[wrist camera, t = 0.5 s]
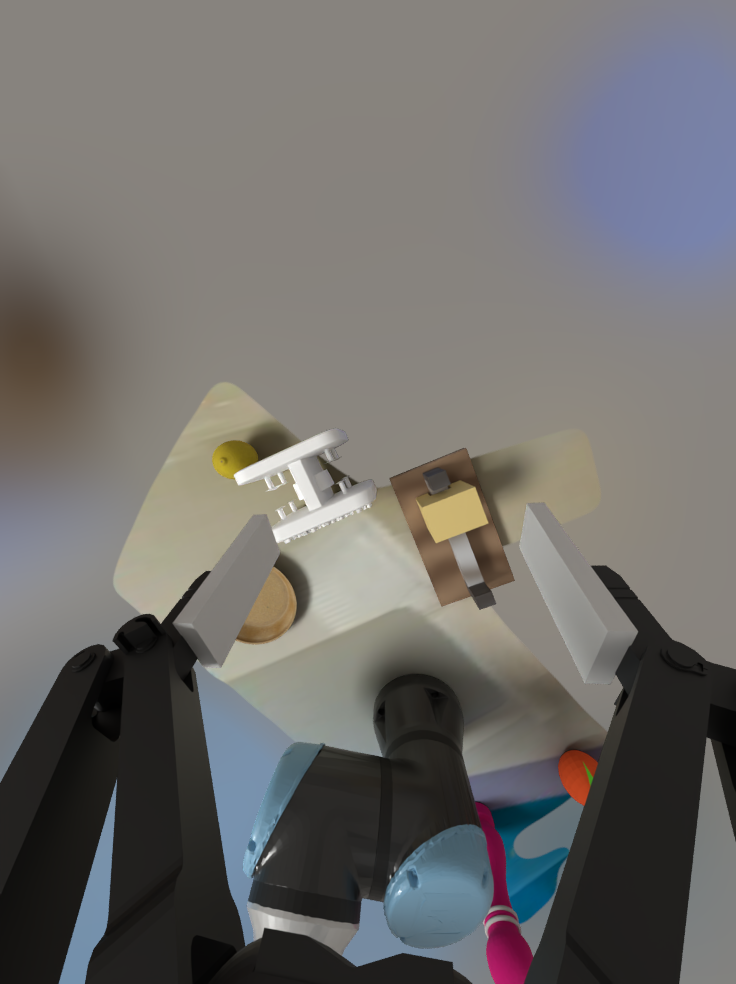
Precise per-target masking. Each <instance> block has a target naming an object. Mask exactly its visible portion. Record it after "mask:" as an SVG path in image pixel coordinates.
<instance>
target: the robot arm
mask: <svg viewBox="0 0 736 984" xmlns="http://www.w3.org/2000/svg"><path fill="white" fill-rule="evenodd" d="M519 548H520V550H521V553H522V554H523V556H524V558H525V561H526V563H527V565H528V567H529V569H530V571H531V573H532V575H533V577H534V579H535V582H536V584H537V586H538V588H539V590H540V592H541V594H542V596H543V598H544V600H545V602H546V604H547V607H548V608H549V610H550V613H551V615H552V617H553V619H554V621H555V623H556V625H557V627H558V629H559V631H560V633H561V635H562V637H563V640H564V642H565V644H566V646H567V648H568V650H569V652H570V654H571V656H572V658H573V661H574V663H575V665H576V667H577V669H578V671H579V673H580V675H581V677H582V679H583V681H584V683H585V684H608V685H610V684H611V682H612V680H613V679H614V677H615V675H617V677H618V679H619V681H620V682H621V684H622V686H623V689H622V691H621V693H620V694H619V696H618V698H617V700H616V702H615V703H614V705H616V709H615V712H614V715H613V718H612V721H611V724H610V727H609V730H608V734H607V737H606V740H605V743H604V746H603V749H602V752H601V755H600V759H599V762H598V765H597V768H596V771H595V774H594V777H593V780H592V783H591V787H590V790H589V793H588V796H587V799H586V802H585V805H584V809H583V812H582V815H581V818H580V821H579V824H578V827H577V830H576V833H575V836H574V839H573V843H572V846H571V849H570V852H569V855H568V858H567V861H566V865H565V868H564V871H563V874H562V877H561V880H560V883H559V886H558V889H557V892H556V896H555V899H554V902H553V905H552V908H551V911H550V914H549V917H548V920H547V924H546V927H545V930H544V933H543V936H542V939H541V942H540V944H539V947H538V949H537V951H536V953H535V955H534V957H533V960H532V962H531V965H530V967H529V970H528V973H527V976H526V979H525V981H524V984H679V980H680V971H681V962H682V953H683V943H684V935H685V926H686V916H687V908H688V899H689V890H690V881H691V872H692V863H693V853H694V845H695V836H696V827H697V818H698V809H699V800H700V791H701V782H702V773H703V764H704V755H705V746H706V737H707V738H710V739H711V742H712V746H713V750H714V754H715V758H716V763H717V767H718V770H719V775H720V779H721V783H722V787H723V791H724V795H725V799H726V804H727V808H728V811H729V816H730V820H731V824H732V828H733V832H734V836H735V840H736V669H732V668H729V667H725V666H721V665H718V664H714V663H711V662H708V661H706V660H705V659H704V658H703V657H702V656H701V655H699V654H698V653H697V652H696V651H695V650H693V649H691V648H689V647H688V646H686V645H684V644H682V643H680V642H677V641H674V640H672V639H671V638H670V637H669V635H668V634H667V633H666V632H665V630H664V629H663V628H662V627H661V626H660V624H659V623H658V622H657V621H656V619H655V618H654V617H653V616H652V614H651V613H650V612H649V611H648V610H647V608H646V607H645V606H644V605H643V603H642V602H641V601H640V600H638V597H637V596H636V595H635V593H634V592H633V591H632V590H630V587H629V586H628V585H627V584H626V583H625V581H624V580H623V579H622V577H621V576H620V575H618V574H617V573H616V572H614V571H613V570H611V569H610V568H608V567H607V566H590V565H589V563H588V562H587V561H586V559H585V558H584V556H583V555H582V554H581V552H580V551H579V549H578V548H577V547H576V545H575V544H574V543H573V541H572V540H571V539H570V537H569V536H568V534H567V533H566V532H565V530H564V529H563V527H562V526H561V525H560V523H559V522H558V521H557V519H556V518H555V516H554V515H553V514H552V512H551V511H550V510H549V508H548V507H547V505H546V504H545V503H527V506H526V511H525V517H524V523H523V529H522V535H521V541H520V546H519ZM279 555H280V551H279V548H278V545H277V542H276V539H275V536H274V534H273V531H272V528H271V525H270V522H269V520H268V517H267V514H262V515H253V516H252V517H251V519H250V520H249V521H248V523H247V524H246V525H245V527H244V528H243V529H242V531H241V532H240V533H239V535H238V536H237V538H236V539H235V540H234V542H233V543H232V544H231V546H230V547H229V548H228V550H227V551H226V552H225V554H224V555H223V556H222V558H221V559H220V560H219V562H218V563H217V564H216V566H215V567H214V568H213V570H212V571H206V572H204V573H203V574H202V575H201V576H199V577H198V578H197V579H196V580H195V581H194V582H193V583H192V585H191V586H190V587H189V589H188V591H186V592H185V594H184V595H183V596H182V599H180V600H179V601H178V603H177V604H176V605H175V606H174V608H173V609H172V610H171V612H170V613H169V614H168V615H167V617H166V618H165V619H164V621H163V622H162V623H161V624H160V623H159V621H158V620H157V619H156V617H155V616H154V615H152V614H143V615H140V616H138V617H135V618H133V619H132V620H130V621H128V622H127V623H126V624H124V625H123V626H122V627H121V628H120V629H119V630H118V631H117V633H116V634H115V636H114V638H113V642H114V643H115V644H116V645H117V646H118V647H119V648H120V649H117V650H114V651H108V649H106V647H105V646H104V645H100V644H97V645H93V646H90V647H88V648H86V649H83V650H82V651H80V652H79V653H77V654H76V655H74V657H72V658H71V659H70V660H69V661H68V662H67V663H66V664H65V666H64V667H63V669H62V670H61V672H60V674H59V675H58V677H57V679H56V681H55V683H54V685H53V687H52V688H51V690H50V692H49V694H48V696H47V698H46V700H45V701H44V703H43V705H42V707H41V709H40V711H39V713H38V714H37V716H36V718H35V720H34V722H33V724H32V725H31V727H30V729H29V731H28V733H27V735H26V736H25V739H24V740H23V742H22V744H21V746H20V748H19V749H18V751H17V753H16V755H15V757H14V759H13V760H12V762H11V764H10V766H9V768H8V770H7V772H6V773H5V775H4V777H3V779H2V781H1V783H0V984H59V980H60V976H61V973H62V969H63V966H64V962H65V959H66V955H67V952H68V948H69V945H70V941H71V938H72V934H73V931H74V927H75V924H76V920H77V917H78V913H79V909H80V906H81V903H82V899H83V896H84V892H85V889H86V885H87V881H88V878H89V875H90V871H91V868H92V864H93V860H94V857H95V853H96V850H97V846H98V843H99V839H100V836H101V832H102V829H103V825H104V822H105V818H106V815H107V811H108V808H109V804H110V801H111V797H112V794H113V790H114V787H115V783H116V780H117V792H116V806H115V822H114V837H113V853H112V869H111V884H110V899H109V915H108V923H107V928H106V931H105V934H104V936H103V937H102V938H101V940H100V941H99V943H98V944H97V945H96V947H95V948H94V950H93V952H92V955H91V958H90V961H89V964H88V969H87V975H86V980H85V984H472V983H471V982H470V981H469V980H468V979H467V978H466V977H464V976H463V975H461V974H460V973H459V972H457V971H456V970H454V969H453V962H449V961H443V960H438V959H432V958H426V957H422V956H416V955H411V954H405V953H402V954H398V955H395V956H392V957H388V958H385V959H382V960H379V961H375V962H372V963H368V964H365V965H362V966H358V967H356V966H355V965H353V964H352V963H351V962H349V961H348V960H347V959H345V958H344V957H342V954H343V952H344V949H345V948H346V946H347V945H348V944H349V942H350V941H351V939H352V938H353V937H354V935H355V934H356V932H357V931H358V930H359V921H360V911H361V901H362V898H365V899H370V900H375V901H380V902H384V914H385V916H386V920H387V924H388V927H389V929H390V930H391V932H392V934H393V935H394V936H395V937H396V938H398V937H400V940H401V941H402V942H403V943H404V944H406V945H409V946H412V947H416V948H427V949H428V948H439V947H444V946H447V945H451V944H453V943H456V942H458V941H460V940H462V939H463V938H465V937H466V936H468V935H469V934H471V933H472V932H473V931H474V930H476V929H477V928H478V927H479V926H480V924H481V923H482V922H483V920H484V919H485V918H486V916H487V914H488V912H489V910H490V907H491V904H492V900H493V893H494V882H493V875H492V870H491V866H490V861H489V856H488V851H487V841H486V837H485V834H484V832H483V830H482V827H481V823H480V819H479V815H478V812H477V808H476V804H475V801H474V797H473V793H472V790H471V786H470V782H469V778H468V775H467V771H466V767H465V764H464V760H463V756H462V748H463V729H464V721H463V715H462V711H461V708H460V704H459V701H458V699H457V697H456V695H455V694H454V692H453V691H452V690H451V689H450V687H448V686H447V685H446V684H445V683H443V682H442V681H440V680H438V679H436V678H434V677H431V676H427V675H419V674H413V675H406V676H402V677H399V678H397V679H395V680H393V681H391V682H390V683H388V684H387V685H386V686H385V687H384V688H383V689H382V690H381V691H380V693H379V694H378V696H377V698H376V700H375V704H374V715H373V724H374V730H375V734H376V737H377V740H378V743H379V746H380V750H381V753H382V756H383V757H379V756H375V755H369V754H364V753H358V752H353V751H349V750H344V749H339V748H334V747H329V746H325V744H324V743H321V744H320V745H319V744H311V743H303V742H297V743H294V744H292V745H291V746H290V747H288V749H287V750H286V751H285V752H284V754H283V756H282V757H281V759H280V761H279V763H278V765H277V768H276V769H275V772H274V774H273V776H272V779H271V781H270V784H269V786H268V788H267V791H266V793H265V796H264V799H263V801H262V804H261V807H260V809H259V812H258V815H257V818H256V821H255V824H254V827H253V830H252V833H251V838H250V841H249V845H248V847H247V850H246V853H245V857H244V862H243V870H244V873H246V874H247V876H248V878H253V876H254V880H253V884H252V887H251V891H250V895H249V899H248V903H247V909H248V912H249V916H250V919H251V923H252V927H253V931H254V932H253V933H254V942H252V943H250V944H248V945H247V946H245V942H244V936H243V930H242V925H241V920H240V916H239V913H238V910H237V907H236V905H235V902H234V900H233V898H232V896H231V893H230V890H229V885H228V880H227V875H226V867H225V861H224V854H223V848H222V841H221V835H220V828H219V822H218V816H217V809H216V803H215V796H214V790H213V783H212V777H211V771H210V764H209V758H208V751H207V745H206V738H205V732H204V725H203V719H202V713H201V706H200V700H199V693H198V687H197V680H196V674H195V671H194V669H193V665H194V664H195V662H196V660H197V659H198V660H199V662H200V663H201V664H202V666H203V667H211V668H221V667H222V665H223V663H224V661H225V659H226V657H227V655H228V653H229V651H230V649H231V647H232V646H233V644H234V642H235V640H236V638H237V636H238V634H239V632H240V630H241V628H242V626H243V624H244V622H245V620H246V618H247V617H248V615H249V613H250V611H251V609H252V607H253V605H254V603H255V601H256V599H257V597H258V595H259V593H260V591H261V589H262V587H263V586H264V584H265V582H266V580H267V578H268V576H269V574H270V572H271V570H272V568H273V566H274V564H275V562H276V560H277V558H278V557H279Z"/></svg>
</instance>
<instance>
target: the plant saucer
mask: <svg viewBox="0 0 736 984" xmlns="http://www.w3.org/2000/svg"><path fill="white" fill-rule="evenodd" d="M296 609H297V602H296V596H295V592H294V589H293V587H292V585H291V583H290V582H289V580H288V579H287V578H286V577H285V575H284V574H283V573H282V572H281V571H279V570H278V569H277V568H275V567H274V566H273V568H272V570H271V572H270V574H269V576H268V578H267V580H266V582H265V584H264V586H263V587H262V589H261V591H260V593H259V595H258V597H257V599H256V601H255V603H254V605H253V607H252V609H251V611H250V613H249V615H248V617H247V618H246V620H245V622H244V624H243V626H242V628H241V630H240V632H239V634H238V636H237V638H236V641H239V642H242V643H246V644H265V643H268V642H271V641H274V640H276V639H278V638H279V637H281V636H282V635H283V634H284V633H285V632H286V631H287V630H288V629H289V628H290V626H291V625H292V623H293V621H294V618H295V615H296Z"/></svg>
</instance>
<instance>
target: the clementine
mask: <svg viewBox="0 0 736 984" xmlns="http://www.w3.org/2000/svg"><path fill="white" fill-rule="evenodd" d="M597 765H598V762H597V761H596V760H595V759H593V758H592V757H591V756H589V755H588V754H586V753H584V752H581V751H579V750H570V751H567V752H565V753H564V754H563V755H562V756H561V758H560V760H559V765H558V770H559V776H560V779H561V781H562V783H563V786H564V787H565V789H566V790H567V792H568V793H569V794H570V796H571V797H572V798H574V799H575V800H576V801H577V802H579V803H580V804H582V805H585V802H586V799H587V796H588V793H589V790H590V787H591V783H592V780H593V777H594V774H595V771H596V768H597Z"/></svg>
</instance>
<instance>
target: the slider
mask: <svg viewBox="0 0 736 984" xmlns="http://www.w3.org/2000/svg"><path fill="white" fill-rule="evenodd" d="M448 487H449V489H447V490H444V491H442V492H439V493H437V494H434V495H432V496H430V495H429V494H428V493H427V494H424V495H422V496H419V497H417V498H416V501H417V503H418V506H419V508H420V511H421V513H422V516H423V518H424V521H425V523H426V526H427V528H428V530H429V532H430V534H431V535H432V537H433V539H434V541H435V543H438V542H441V541H443V540H446V539H449V538H451V537H454V536H457V535H459V534H462V533H465V532H467V531H470V530H472V529H475V528H478V527H480V526H483V525H486V524H488V521H487V518H486V515H485V512H484V510H483V507H482V504H481V502H480V499H479V496H478V494H477V491H476V488H475V487H474V486H472V485H470V484H467V483H465V482H463V481H461V480H459V481H457V482H454V483H452V484H451V485H448Z"/></svg>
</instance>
